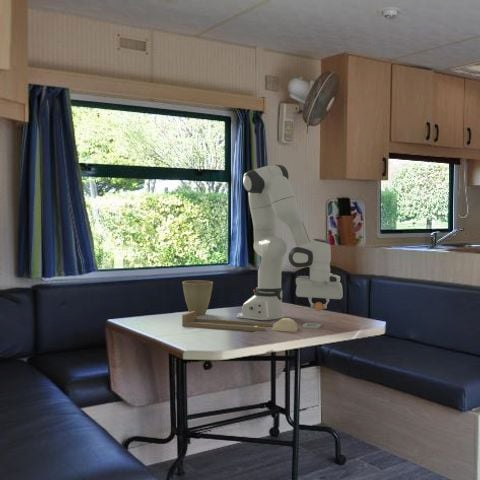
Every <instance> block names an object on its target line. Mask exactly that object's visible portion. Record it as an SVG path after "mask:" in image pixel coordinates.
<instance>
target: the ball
mask: <svg viewBox="0 0 480 480" xmlns="http://www.w3.org/2000/svg"><path fill="white" fill-rule="evenodd" d="M323 304H324V303H322V302H320V301H317V302H315V303H314V308H313V309H314V311H317V312H321V311H323V310H324V309H323Z"/></svg>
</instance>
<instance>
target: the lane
mask: <svg viewBox="0 0 480 480" xmlns="http://www.w3.org/2000/svg"><path fill="white" fill-rule="evenodd" d="M181 317H182V321H181V322H182V324H181V326H182V327H190V328H191V327H192V328H204V329H214V330H215V329H216V330H230V331H242V332H243V331H244V332H256V331H262V332H263V331H264V332H266V331H267V327H271V331H279V332H293V333H295V332H296V331H298V330H299V326H298V323H297V322H296V321H295V320H294V319H292V318H289V317H283V318H280V319H279V320H277V321H276V322H275V323H273V322H259V321H244V320H227V319H215V318H203V317H202V318H201V317H200V318H198V317H197V316H196V311H191V312H189V311H188V312H185V313H183V314H182V316H181Z"/></svg>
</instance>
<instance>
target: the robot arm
mask: <svg viewBox="0 0 480 480" xmlns="http://www.w3.org/2000/svg"><path fill="white" fill-rule="evenodd" d="M289 176H290V175H289V171H288V170H287V168H286V167H285V166H284V165H282V164H273V165H265V166H262V167H259V168H256V169H250V170H248V171H247V172H245V173H244V174H243V177H242V184H243V187H244V189H245V191H246V192H248V204H249V206H248V207H249V210H250V215H251V219H252V226H253V227H252V228H253V250H254V252H255V253H256V254H257V255H258V256H259V257H261V258H260V262H259V263H260V264H259V268H258V271H257V287H255V288H254V289H253V294H254V295H252V296H251V297H250V298H248V299H247V300H246V301H245V302H244V303H243V304H242V308H241V312H238V313H237V314H236V317H237V318H238V319H239V318H241V319H247V320H257V321H259V320H260V321H270V320H277V319H283V318H286V317H285V313H284V309H283V303H282V302H283V287H282V272H283V271H282V269H283V265H284V260H285V255H286V253H287V251H288V250H287V249H288V246H287V245H288V244H287V242H286V241H285V240H284V239H283V238H281V237H280V236H278V235H277V234H276V224H277V219H279V221H281V222H283V223H284V224H286V226H288V228H289V230H290V233H291V234H292V237H293V240H294V242H295V247H293V248H291V249H290V250H289V253H288V262H289V263H290V265H291V266H293V267H294V268H297V269H303V268H309V275H299V276H297V277H296V278H295V285H296V288H295V295H296V297H297V298H308V302H309V305H310V308H311V309H315V308H314V305H315V303H313V301H312V300H313V298H314V299H325V301H326V303H322V304H323V309H322V310H325V309H328V308H327V307H328V306H327V305H328V304H329V303H330V299H331V300H342V298H344V297H343V294H344V293H343V284H342V282H340V281H341V276H340V275H337V274H334V273H331V266H330V265H331V264H330V263H331V260H332V253H331V252H332V248H331V244H330V242H329V241H327V240H326V239H325V240H324V239H320V238H313V239H312V240H311V241H310V238H309V236H308V235H309V234H308V233H307V230H306V227H305V225H304V222H303V220H302V216H301V213H300V212H301V211H300V209H299V205H298V200H297V198H296V195H295V192H294V190H293V187H292V185H291V182H290V181H289Z"/></svg>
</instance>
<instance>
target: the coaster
mask: <svg viewBox="0 0 480 480" xmlns="http://www.w3.org/2000/svg"><path fill="white" fill-rule="evenodd" d="M321 327H322V323H314V322H313V323H311V322H305V323H304V324H302V326H301V328H302V329H313V330H314V329H315V330H319V329H320V328H321Z"/></svg>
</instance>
